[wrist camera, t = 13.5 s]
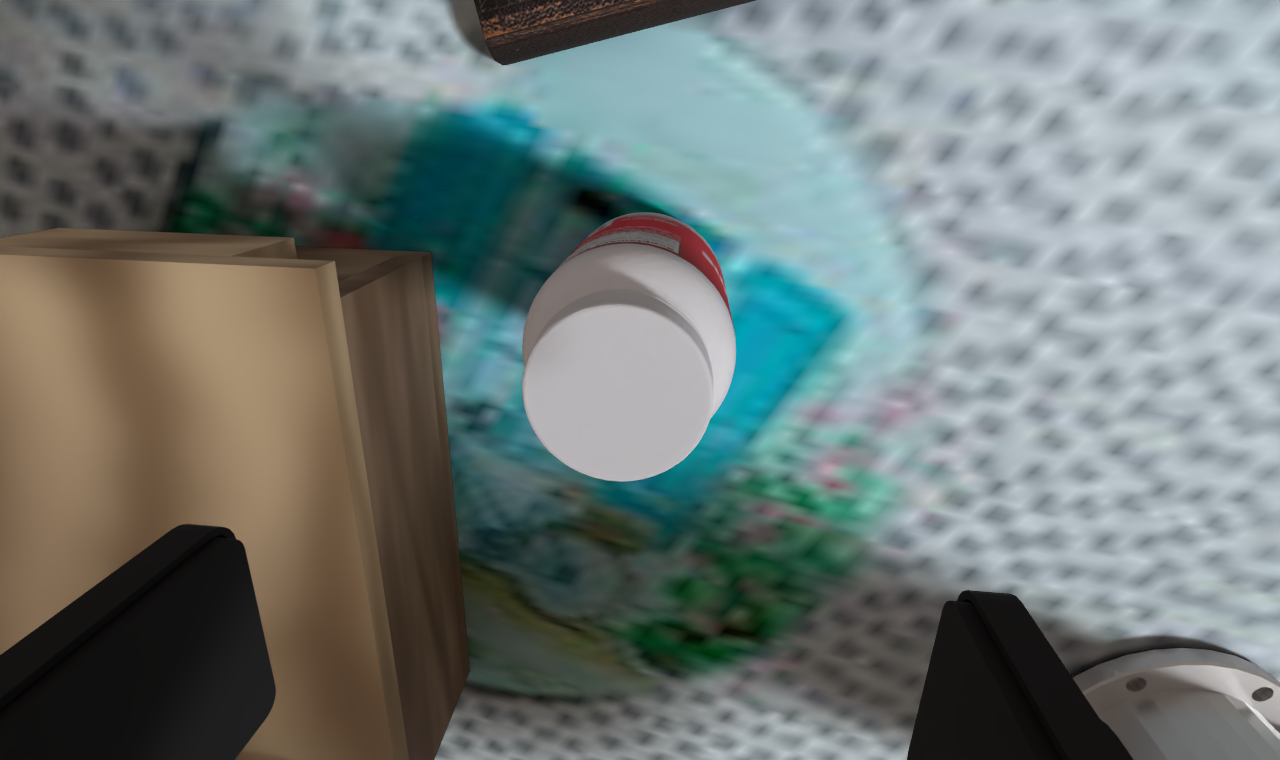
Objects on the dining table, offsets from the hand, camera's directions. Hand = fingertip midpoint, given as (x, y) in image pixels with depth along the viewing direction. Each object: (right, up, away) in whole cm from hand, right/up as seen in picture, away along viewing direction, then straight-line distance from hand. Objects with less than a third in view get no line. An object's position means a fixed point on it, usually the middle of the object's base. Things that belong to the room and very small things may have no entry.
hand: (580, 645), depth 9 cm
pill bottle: (+1, +7, +17) cm, 19 cm away
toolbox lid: (-15, -2, +17) cm, 22 cm away
